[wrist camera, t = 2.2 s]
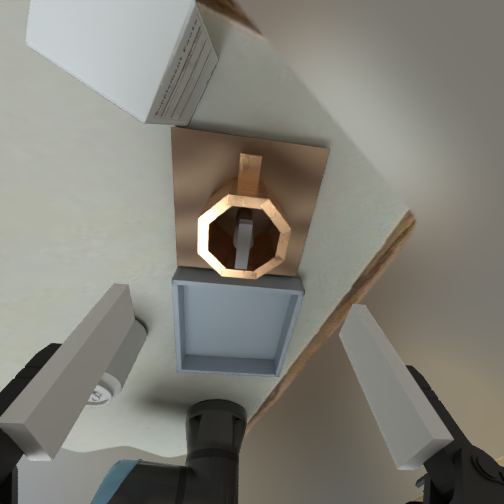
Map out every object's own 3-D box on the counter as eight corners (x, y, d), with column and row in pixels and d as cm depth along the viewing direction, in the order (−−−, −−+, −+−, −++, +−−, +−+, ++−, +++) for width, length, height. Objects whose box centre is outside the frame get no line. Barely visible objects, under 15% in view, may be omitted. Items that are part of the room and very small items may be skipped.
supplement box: (125, 82, 23) (15, 40, 12) (153, 1, 20) (43, -150, 9) (188, 128, 25) (143, 127, 14) (221, 60, 23) (198, -6, 12)
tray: (276, 360, 46) (278, 377, 43) (182, 355, 45) (177, 371, 42) (300, 277, 36) (305, 291, 33) (178, 266, 34) (171, 279, 31)
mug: (272, 247, 32) (279, 281, 25) (208, 241, 31) (197, 274, 24) (289, 158, 26) (305, 169, 19) (211, 148, 25) (198, 155, 18)
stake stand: (294, 270, 35) (311, 322, 26) (179, 260, 34) (153, 310, 24) (326, 147, 27) (370, 158, 17) (174, 126, 25) (131, 125, 16)
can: (121, 306, 38) (74, 373, 28) (156, 328, 41) (126, 397, 31) (98, 327, 41) (46, 396, 30) (133, 347, 43) (97, 416, 33)
